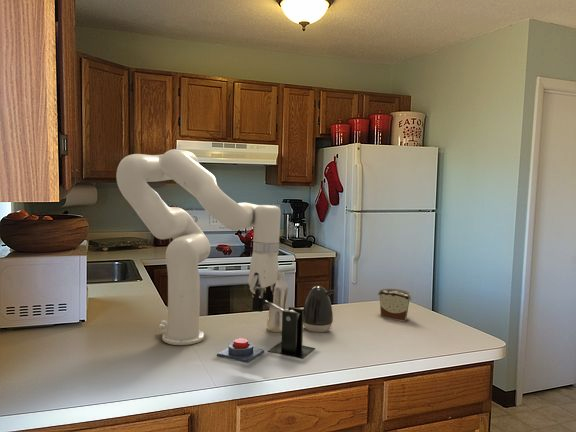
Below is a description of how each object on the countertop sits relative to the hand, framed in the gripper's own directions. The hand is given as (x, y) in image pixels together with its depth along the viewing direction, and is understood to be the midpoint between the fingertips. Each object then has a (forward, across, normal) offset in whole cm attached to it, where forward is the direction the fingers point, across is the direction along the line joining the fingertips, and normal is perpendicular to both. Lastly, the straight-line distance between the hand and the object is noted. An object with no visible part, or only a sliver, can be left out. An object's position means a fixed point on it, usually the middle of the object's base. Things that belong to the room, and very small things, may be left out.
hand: (262, 307), depth 141 cm
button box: (+12, +10, -1) cm, 16 cm away
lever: (+1, 0, +5) cm, 5 cm away
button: (+9, +10, -1) cm, 13 cm away
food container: (+11, -52, +28) cm, 60 cm away
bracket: (+12, 0, +10) cm, 15 cm away
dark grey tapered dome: (+12, -22, +9) cm, 27 cm away
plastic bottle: (+12, -14, -2) cm, 19 cm away
